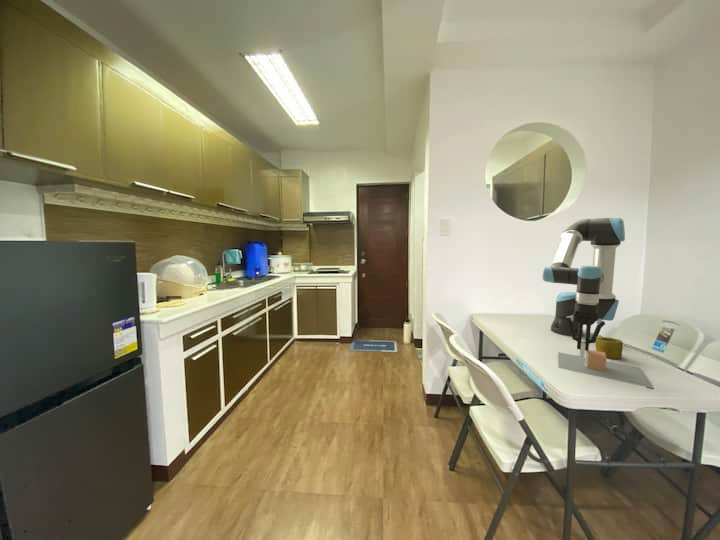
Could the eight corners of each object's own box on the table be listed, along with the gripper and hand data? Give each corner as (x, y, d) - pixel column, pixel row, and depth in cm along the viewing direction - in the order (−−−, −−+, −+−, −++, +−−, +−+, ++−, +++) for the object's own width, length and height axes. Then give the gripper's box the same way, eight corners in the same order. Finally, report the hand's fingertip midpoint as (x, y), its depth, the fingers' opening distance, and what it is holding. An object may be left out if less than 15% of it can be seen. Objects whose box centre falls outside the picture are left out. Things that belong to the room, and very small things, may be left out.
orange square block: (586, 349, 121) (604, 352, 118) (585, 362, 122) (603, 365, 119) (587, 353, 116) (606, 357, 113) (586, 367, 117) (605, 371, 114)
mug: (633, 358, 122) (624, 336, 124) (607, 363, 125) (598, 341, 126) (616, 353, 134) (608, 332, 136) (592, 357, 136) (584, 337, 138)
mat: (558, 352, 133) (558, 352, 133) (640, 368, 117) (640, 367, 117) (558, 368, 117) (558, 367, 117) (653, 389, 101) (653, 388, 101)
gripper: (567, 302, 118) (563, 356, 121) (608, 306, 111) (602, 364, 113) (567, 299, 124) (562, 350, 127) (606, 303, 117) (600, 357, 119)
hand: (581, 357), depth 120 cm, fingers closed
